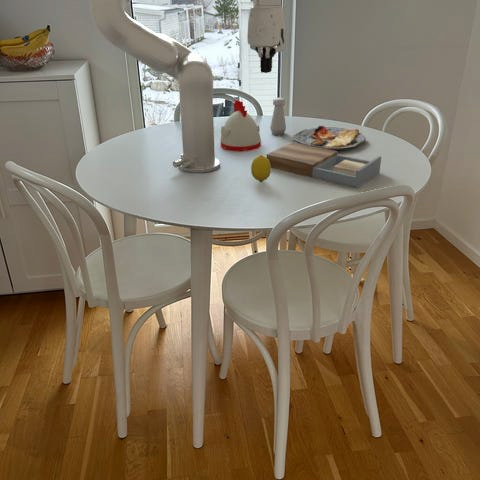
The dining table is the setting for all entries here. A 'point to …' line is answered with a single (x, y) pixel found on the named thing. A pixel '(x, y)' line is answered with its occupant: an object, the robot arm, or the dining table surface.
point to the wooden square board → (299, 158)
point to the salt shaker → (278, 117)
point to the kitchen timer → (240, 131)
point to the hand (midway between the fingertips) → (266, 71)
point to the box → (362, 174)
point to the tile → (348, 167)
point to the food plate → (329, 137)
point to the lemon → (261, 168)
